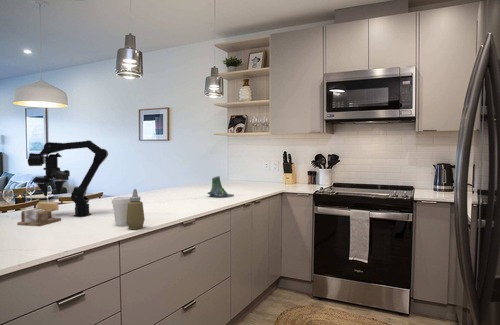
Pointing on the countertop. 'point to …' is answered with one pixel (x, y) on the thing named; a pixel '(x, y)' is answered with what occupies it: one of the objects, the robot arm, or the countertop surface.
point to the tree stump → (218, 189)
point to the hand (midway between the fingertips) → (52, 194)
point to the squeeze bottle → (135, 212)
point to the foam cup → (120, 210)
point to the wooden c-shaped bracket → (46, 207)
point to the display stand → (36, 218)
